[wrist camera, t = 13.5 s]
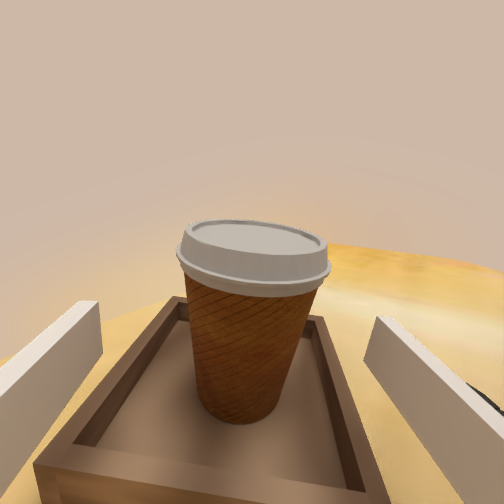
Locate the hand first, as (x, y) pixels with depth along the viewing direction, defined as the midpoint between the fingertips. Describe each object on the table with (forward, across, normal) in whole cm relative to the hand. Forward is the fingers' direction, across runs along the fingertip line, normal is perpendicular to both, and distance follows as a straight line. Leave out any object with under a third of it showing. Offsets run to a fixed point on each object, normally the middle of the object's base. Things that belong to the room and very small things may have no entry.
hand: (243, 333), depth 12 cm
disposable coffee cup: (+5, +1, -8) cm, 10 cm away
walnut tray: (+5, 0, -9) cm, 10 cm away
